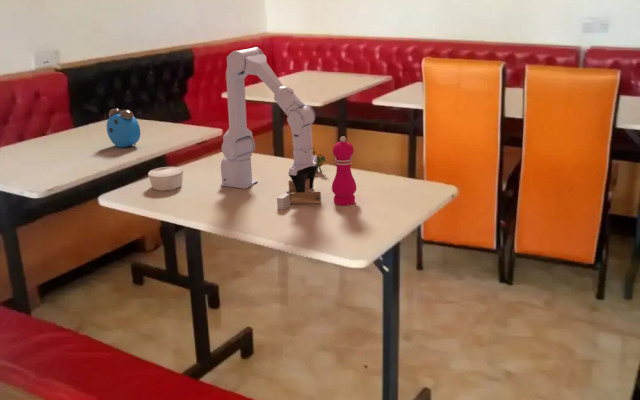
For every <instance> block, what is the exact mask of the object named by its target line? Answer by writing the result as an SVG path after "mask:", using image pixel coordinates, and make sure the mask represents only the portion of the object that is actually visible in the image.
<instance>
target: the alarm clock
mask: <svg viewBox="0 0 640 400" xmlns="http://www.w3.org/2000/svg"><path fill="white" fill-rule="evenodd" d="M108 116H109V117H108V119H107V121H106V133H107V135H108V138H109V140H110V141H111V143H112V144H113V145H114V146H116V147H117V148H120V149H121V148H126V147H130V146H133V145H134V146H135V145H136V146H137V143H138V142H139V141H140V138H141V128H140V123H139V122H138V120H137V119H136V117H135V116H134V114H133V112H132V111H131V110H130V109H122V110H121V109H119V108H112V109H110V110H109V112H108Z"/></svg>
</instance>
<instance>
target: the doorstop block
mask: <svg viewBox="0 0 640 400" xmlns="http://www.w3.org/2000/svg"><path fill="white" fill-rule="evenodd" d="M288 191H289V192H290V201H291V192H296V188H295V185H294V183H293V181H292V179H291V178H290V179H289V180H288ZM305 192H311V191H310V179H309V178H306V183H305Z"/></svg>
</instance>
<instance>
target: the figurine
mask: <svg viewBox="0 0 640 400" xmlns="http://www.w3.org/2000/svg"><path fill="white" fill-rule="evenodd" d="M312 150H313V155H315V156H317V162H316V163H317V165H318V169H319V170H318V169H317V171H316V173H320V172H323V170H322V168H321V167H323V166H325V164H324V163H326V162H327V161H326V157H325V155H324V154H322V153H321V152H319V153H317V151H316V150H315V147H313V146H312Z"/></svg>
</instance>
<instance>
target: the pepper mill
mask: <svg viewBox="0 0 640 400" xmlns="http://www.w3.org/2000/svg"><path fill="white" fill-rule="evenodd" d="M354 150H355V149H354V147H353V145H352V143H351V142H349V141H347V138H346V137H345V136H341V137H340V138H339V141H338V142H336V143H334V144H333V148H332V154H333V156H334V157H335V158H334V164H336V166H335V167H336V173H335V175H334V179H333V180H332V181H333V182H332V183H331V184H332V185H331V192H332V194H334V196H333V203H334V204H335V205H337V206H351V205H353V204H354V203H356V196H355V193H356V191H357V184H356V180H355V178H354V176H353V173H352V168H351V166H352V163H353V158H352V156H353V155H354Z"/></svg>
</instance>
